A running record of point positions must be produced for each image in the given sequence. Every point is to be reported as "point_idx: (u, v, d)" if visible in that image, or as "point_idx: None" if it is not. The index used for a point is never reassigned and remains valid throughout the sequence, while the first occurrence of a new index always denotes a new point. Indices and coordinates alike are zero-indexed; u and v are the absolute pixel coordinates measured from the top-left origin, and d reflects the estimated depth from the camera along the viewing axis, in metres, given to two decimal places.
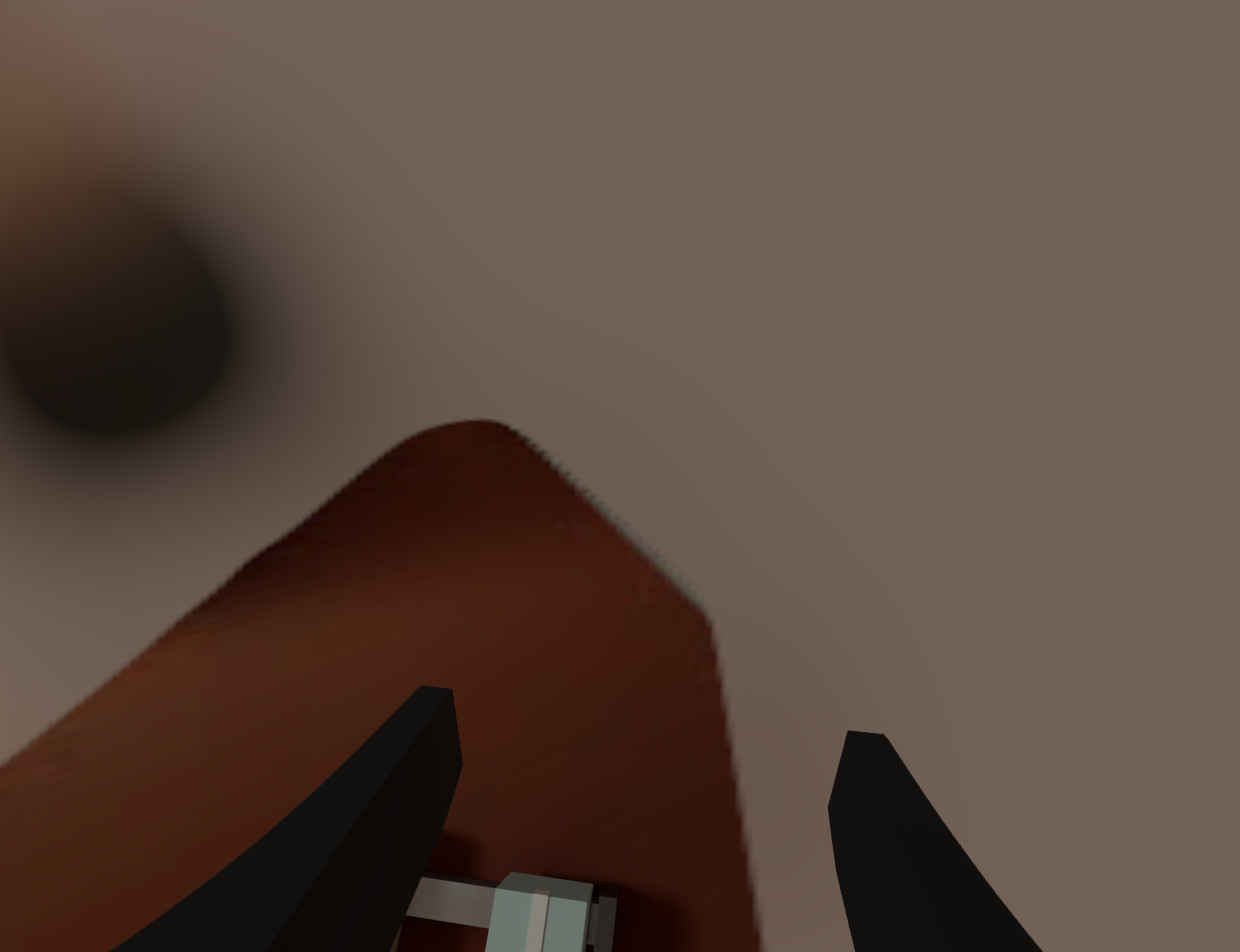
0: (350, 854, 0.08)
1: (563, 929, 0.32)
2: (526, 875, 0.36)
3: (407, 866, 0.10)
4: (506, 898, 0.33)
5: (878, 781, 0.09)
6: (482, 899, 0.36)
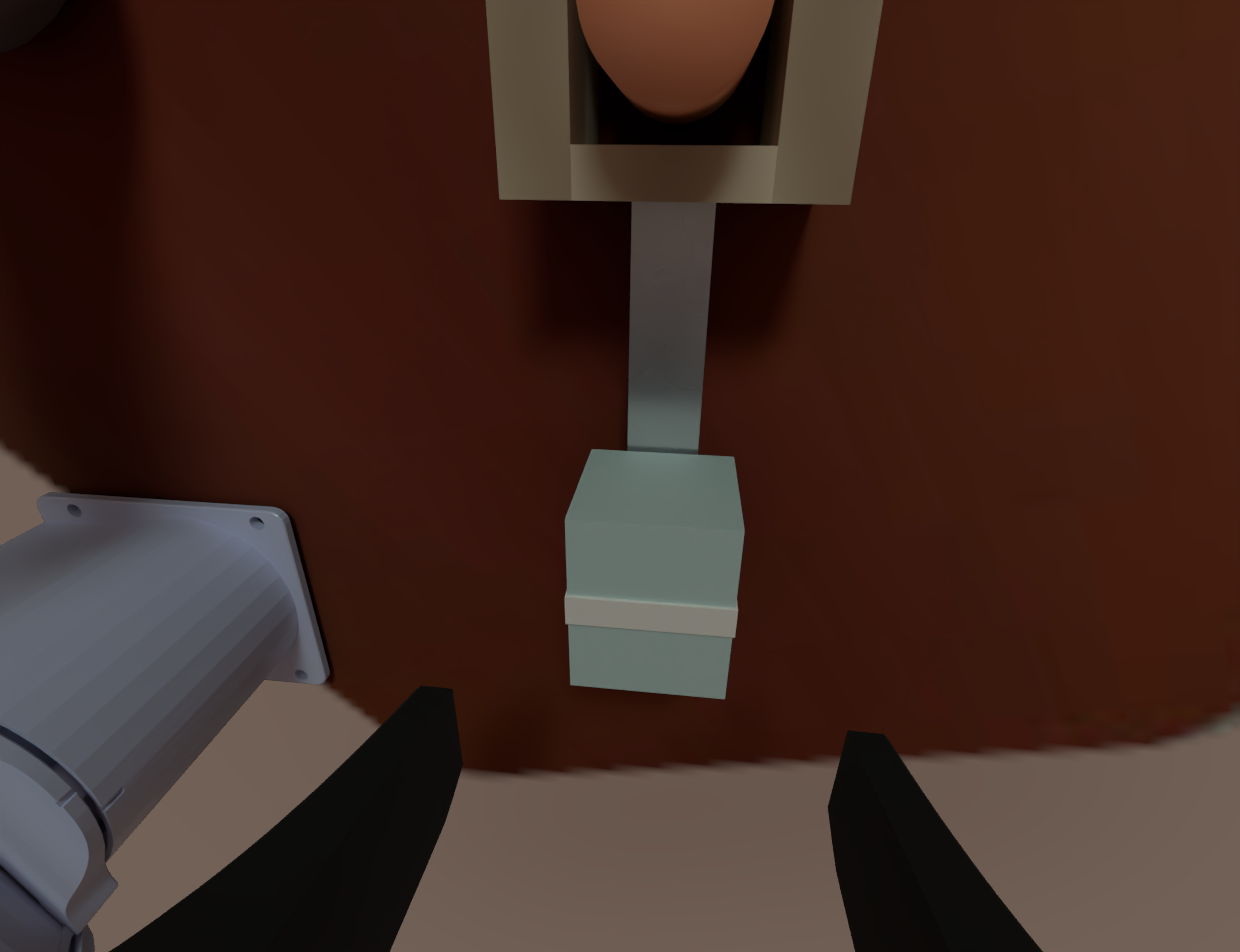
0: (349, 855, 0.08)
1: (673, 662, 0.15)
2: None
3: (408, 866, 0.10)
4: (724, 555, 0.14)
5: (878, 781, 0.09)
6: (677, 400, 0.17)
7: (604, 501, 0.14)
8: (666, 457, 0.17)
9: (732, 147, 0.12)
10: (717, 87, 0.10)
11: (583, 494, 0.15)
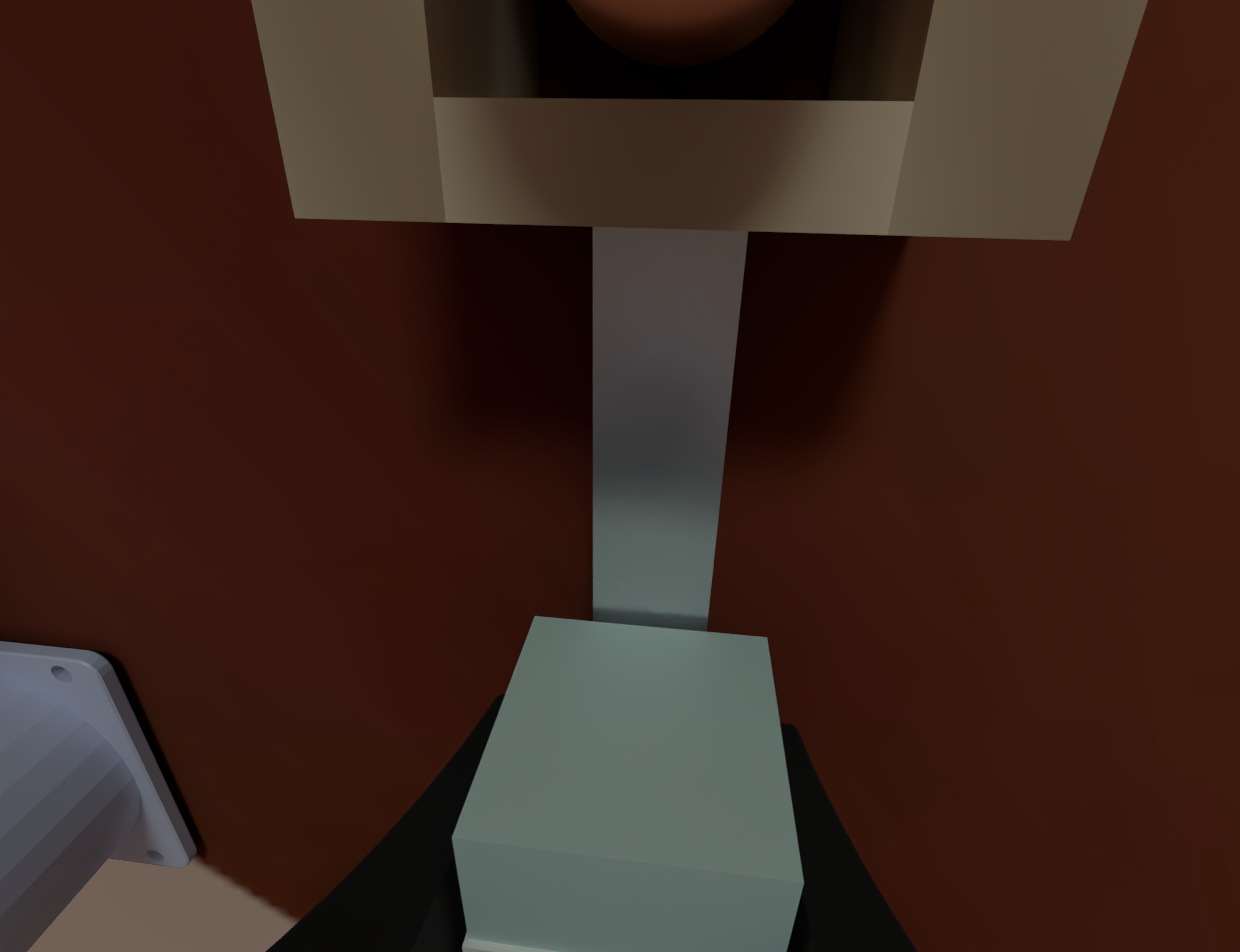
0: None
1: None
2: None
3: None
4: (761, 912, 0.07)
5: None
6: (674, 547, 0.10)
7: (537, 773, 0.08)
8: (655, 639, 0.10)
9: (804, 105, 0.05)
10: None
11: (499, 749, 0.08)
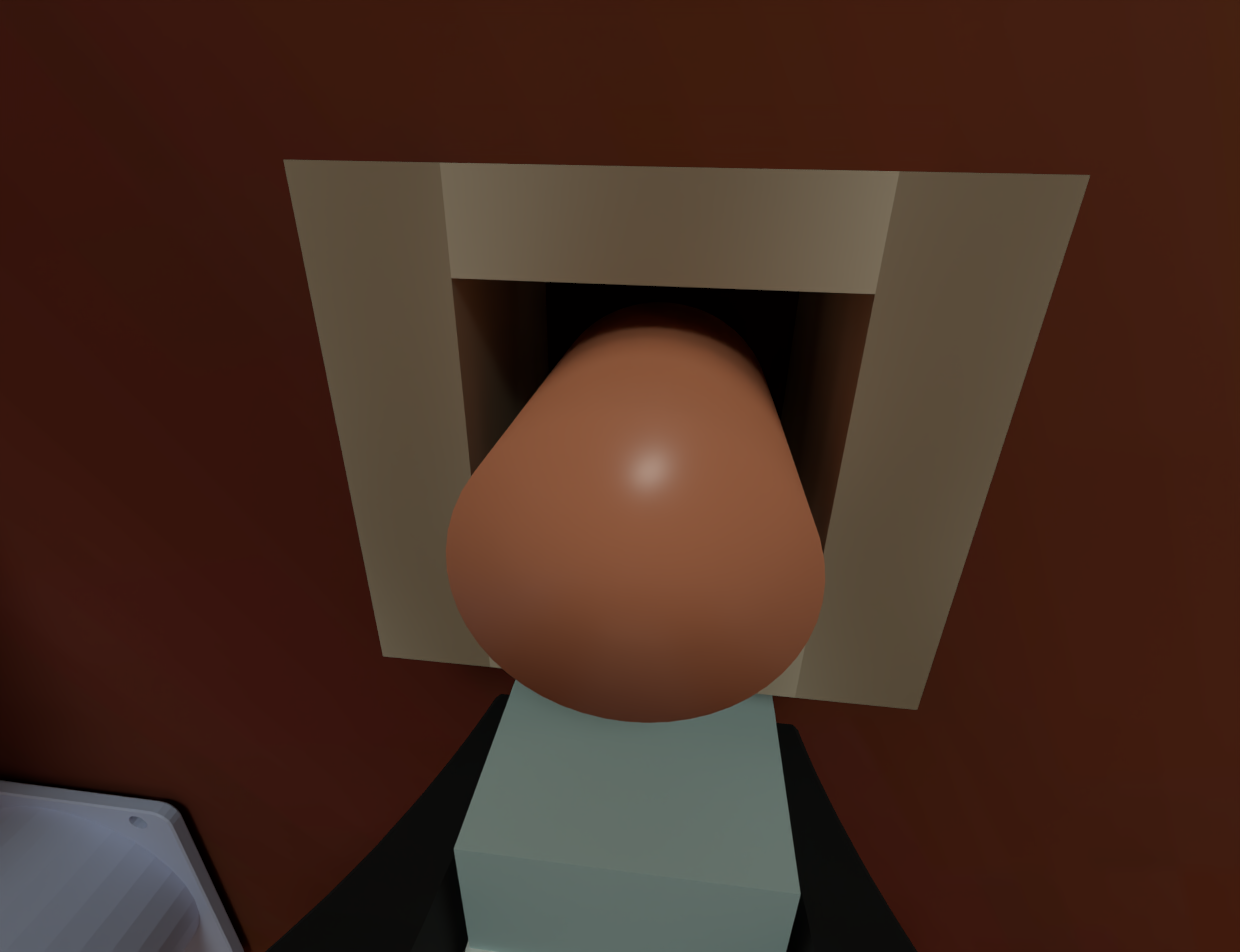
0: None
1: None
2: None
3: None
4: (758, 923, 0.07)
5: None
6: None
7: (538, 784, 0.08)
8: None
9: None
10: (708, 713, 0.05)
11: (501, 761, 0.08)
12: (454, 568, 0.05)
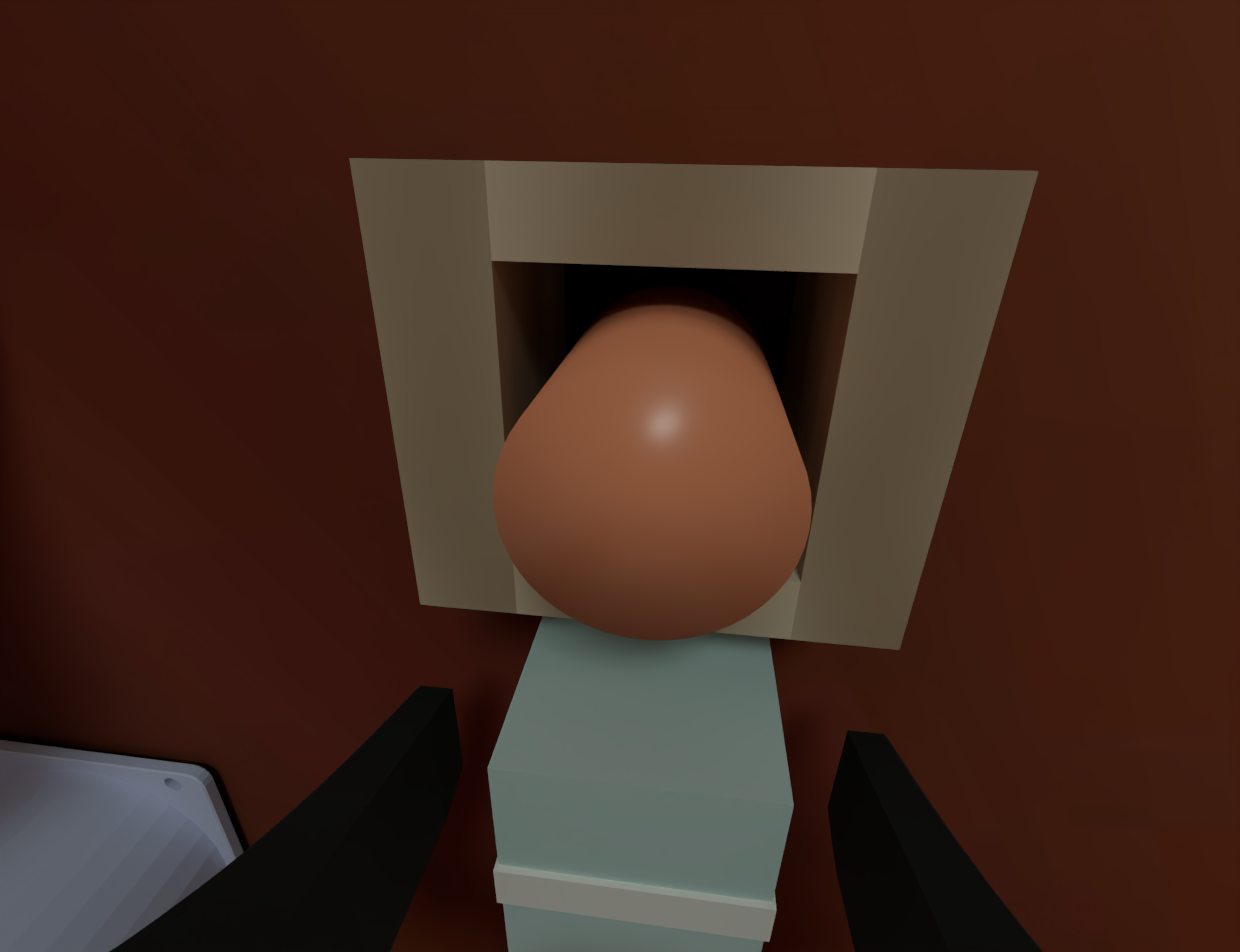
0: (350, 854, 0.08)
1: None
2: None
3: (408, 867, 0.10)
4: (756, 834, 0.08)
5: (878, 781, 0.09)
6: None
7: (560, 717, 0.09)
8: None
9: None
10: (713, 630, 0.06)
11: (526, 698, 0.09)
12: (500, 502, 0.06)
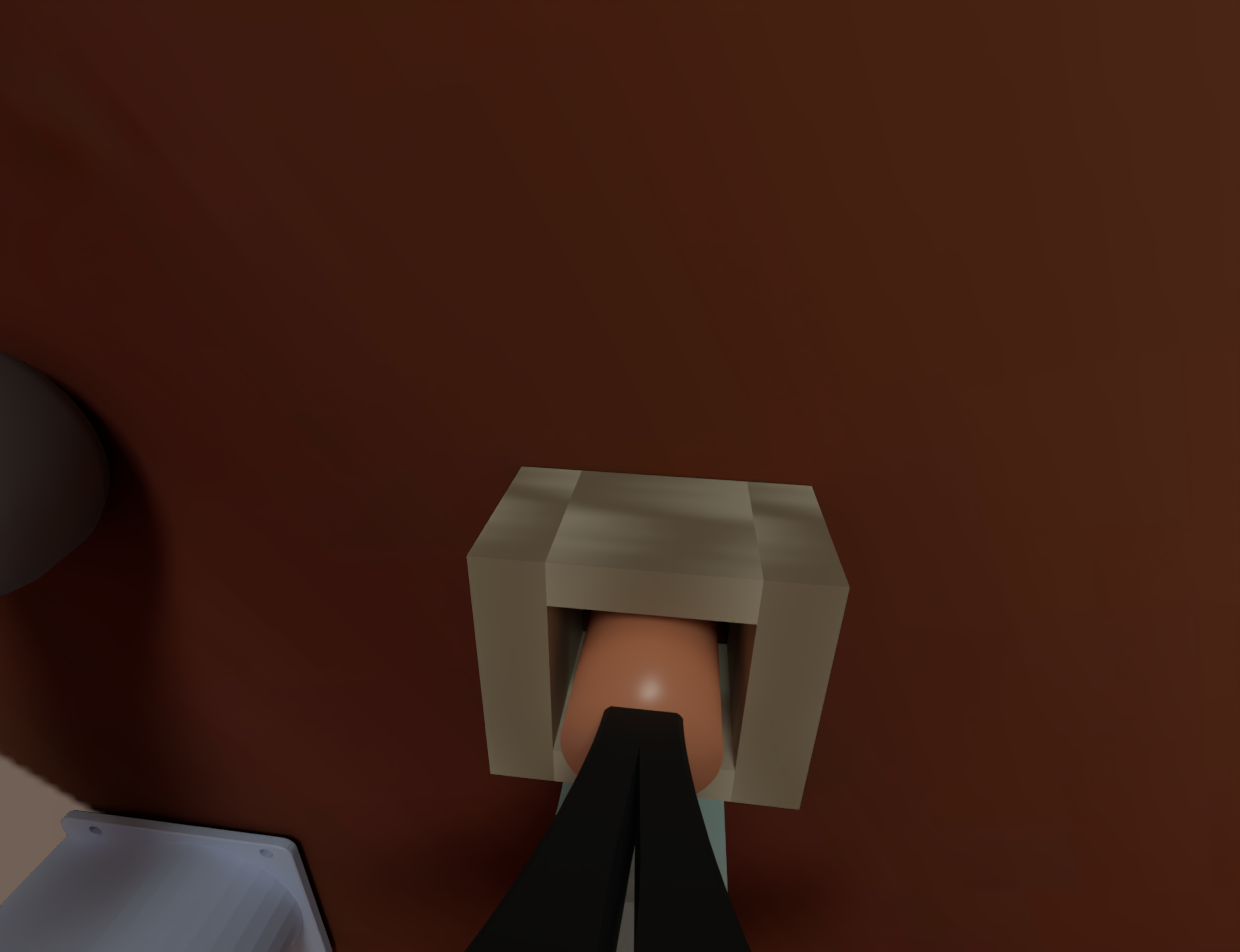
0: (609, 889, 0.08)
1: None
2: None
3: (622, 895, 0.10)
4: None
5: (647, 755, 0.09)
6: None
7: None
8: None
9: None
10: None
11: None
12: (564, 741, 0.11)
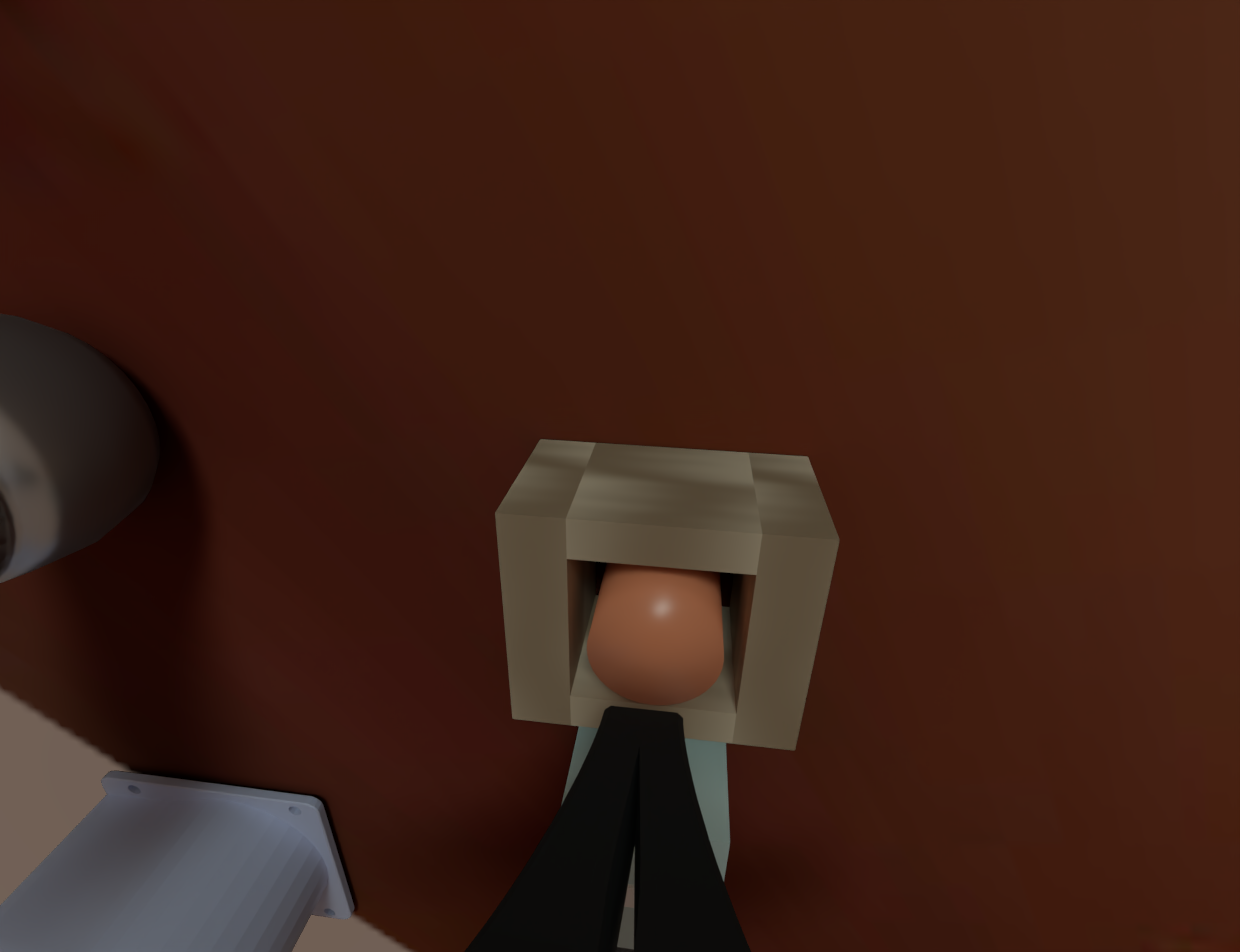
0: (609, 888, 0.08)
1: None
2: None
3: (621, 895, 0.10)
4: None
5: (647, 755, 0.09)
6: None
7: None
8: None
9: (700, 710, 0.14)
10: (684, 701, 0.14)
11: (576, 775, 0.15)
12: (590, 647, 0.13)
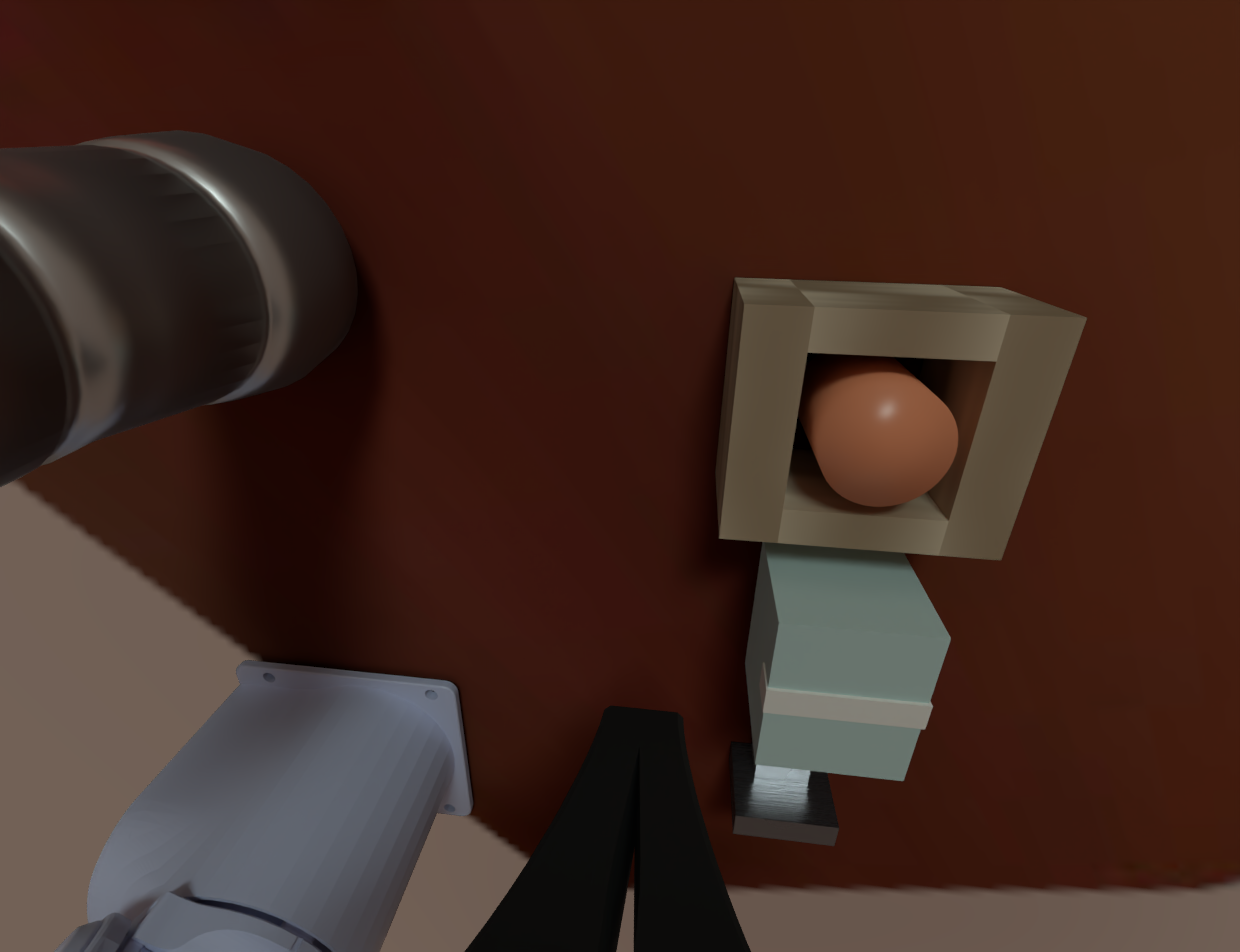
0: (609, 889, 0.08)
1: (859, 748, 0.16)
2: None
3: (622, 895, 0.10)
4: (927, 658, 0.15)
5: (647, 755, 0.09)
6: None
7: (805, 601, 0.15)
8: None
9: (912, 519, 0.15)
10: (907, 501, 0.14)
11: (781, 592, 0.16)
12: (823, 443, 0.14)
